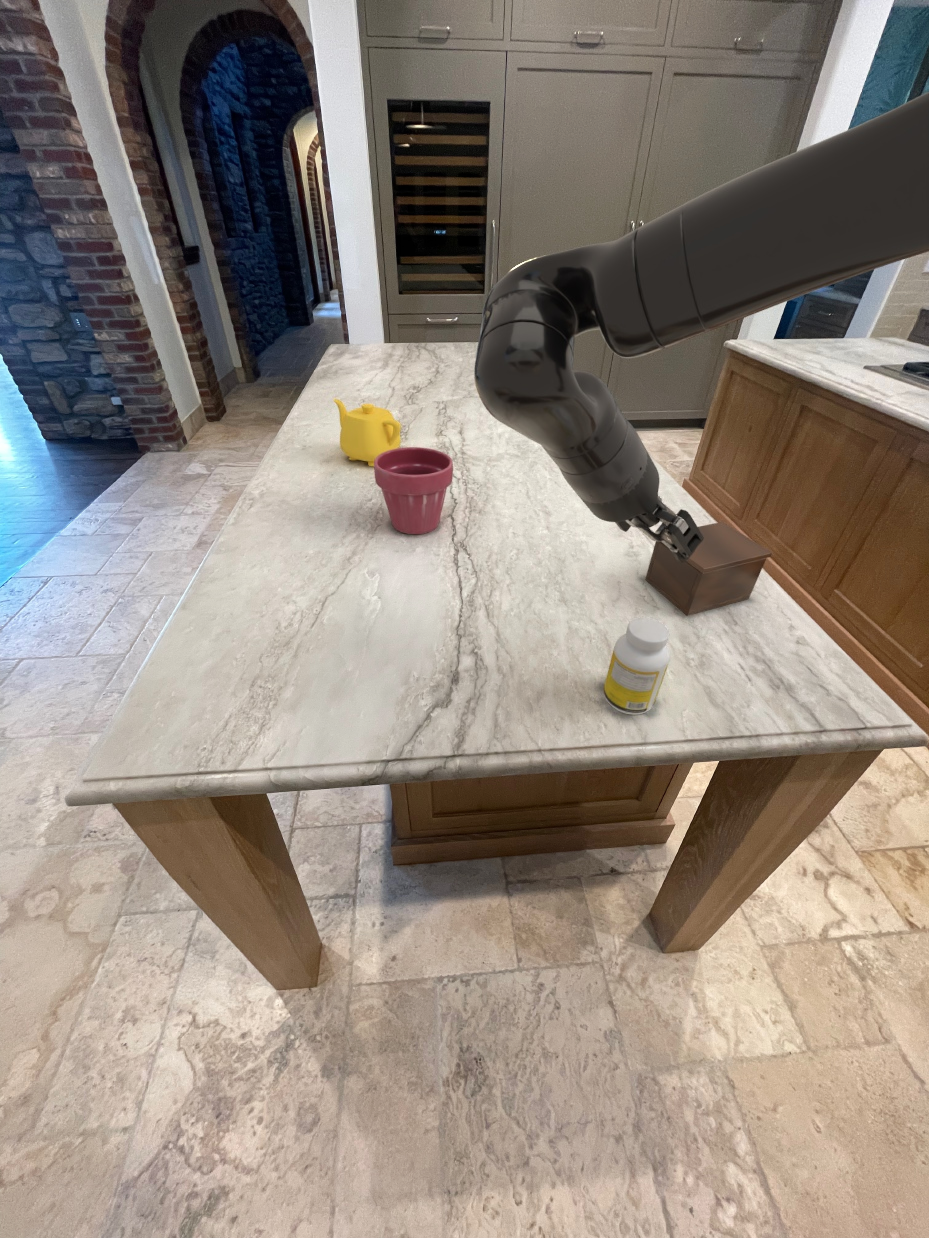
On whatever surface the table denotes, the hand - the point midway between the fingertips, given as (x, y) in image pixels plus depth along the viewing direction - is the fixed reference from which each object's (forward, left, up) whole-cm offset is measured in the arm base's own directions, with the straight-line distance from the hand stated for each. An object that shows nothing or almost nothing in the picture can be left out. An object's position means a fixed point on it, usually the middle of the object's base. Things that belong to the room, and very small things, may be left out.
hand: (656, 539), depth 64 cm
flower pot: (+47, +16, -19) cm, 53 cm away
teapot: (+83, +16, -19) cm, 86 cm away
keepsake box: (+9, -21, -19) cm, 30 cm away
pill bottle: (-7, +5, -19) cm, 21 cm away
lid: (+9, -21, -11) cm, 26 cm away
